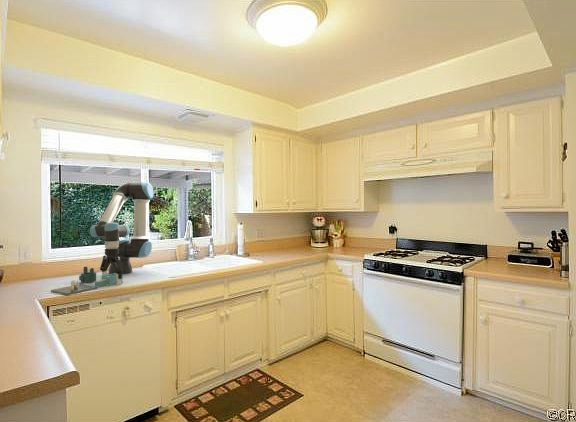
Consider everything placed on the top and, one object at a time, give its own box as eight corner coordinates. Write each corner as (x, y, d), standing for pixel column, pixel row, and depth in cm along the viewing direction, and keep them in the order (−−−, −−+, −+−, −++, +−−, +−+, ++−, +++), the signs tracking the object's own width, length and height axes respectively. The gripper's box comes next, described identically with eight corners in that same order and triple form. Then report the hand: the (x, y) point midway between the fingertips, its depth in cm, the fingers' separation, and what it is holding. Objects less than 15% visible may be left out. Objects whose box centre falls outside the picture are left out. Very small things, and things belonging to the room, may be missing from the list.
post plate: (81, 285, 190) (81, 277, 190) (97, 288, 182) (97, 279, 182) (50, 291, 175) (50, 282, 175) (67, 295, 168) (67, 285, 168)
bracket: (85, 280, 204) (84, 266, 204) (99, 280, 205) (99, 266, 205) (76, 283, 195) (76, 269, 195) (91, 283, 196) (91, 268, 196)
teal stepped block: (114, 281, 200) (114, 273, 200) (122, 282, 197) (122, 274, 197) (91, 286, 188) (91, 277, 188) (99, 287, 184) (99, 278, 184)
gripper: (93, 247, 197) (93, 282, 197) (119, 249, 186) (119, 286, 186) (105, 246, 204) (105, 280, 204) (130, 248, 192) (131, 283, 192)
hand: (112, 283), depth 195 cm, fingers open, 13 cm apart
